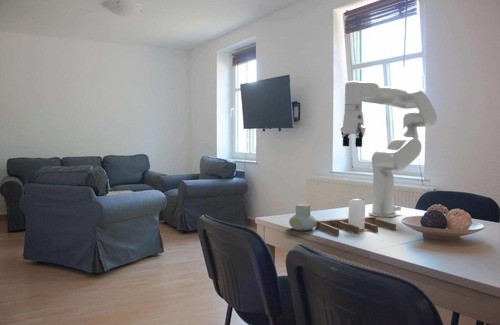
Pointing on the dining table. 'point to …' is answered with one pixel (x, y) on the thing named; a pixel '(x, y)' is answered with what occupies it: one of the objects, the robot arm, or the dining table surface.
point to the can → (357, 213)
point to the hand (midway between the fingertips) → (352, 146)
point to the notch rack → (343, 223)
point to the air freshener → (302, 218)
